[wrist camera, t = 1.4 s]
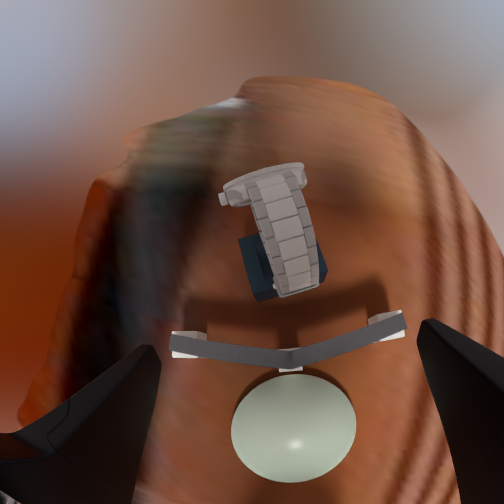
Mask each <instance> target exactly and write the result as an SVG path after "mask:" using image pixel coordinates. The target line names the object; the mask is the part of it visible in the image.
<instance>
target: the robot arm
mask: <svg viewBox="0 0 504 504" xmlns="http://www.w3.org/2000/svg"><path fill="white" fill-rule="evenodd" d="M417 347H418V350H419V353H420V357H421V360H422V364H423V367H424V371H425V375H426V378H427V382H428V384H429V387H430V390H431V393H432V395H433V398H434V401H435V404H436V407H437V410H438V412H439V415H440V419H441V422H442V425H443V428H444V431H445V435H446V438H447V442H448V445H449V449H450V453H451V456H452V460H453V465H454V469H455V473H456V477H457V478H456V479H457V483H458V489H459V494H460V500H461V504H504V358H503V357H502V356H500V355H498V354H496V353H495V352H493V351H491V350H490V349H488V348H486V347H484V346H483V345H481V344H479V343H477V342H476V341H474V340H472V339H470V338H469V337H467V336H465V335H463V334H461V333H460V332H458V331H456V330H454V329H452V328H451V327H449V326H447V325H445V324H443V323H442V322H440V321H438V320H436V319H434V318H430V319H425V320H423V321H422V322H421V326H420V329H419V333H418V336H417ZM160 374H161V361H160V359H159V357H158V355H157V352H156V350H155V348H154V347H153V346H152V345H140V346H139V347H138V348H136V349H135V350H134V351H132V352H131V353H130V354H128V355H127V356H126V357H124V358H123V359H122V360H120V361H119V362H118V363H116V364H115V365H114V366H112V367H111V368H110V369H108V370H107V371H106V372H104V373H103V374H101V375H100V376H99V377H97V378H96V379H95V380H93V381H92V382H91V383H89V384H88V385H87V386H85V387H84V388H83V389H81V390H80V391H79V392H77V393H76V394H74V395H73V396H72V397H71V398H70V399H68V400H66V401H65V402H64V403H62V404H61V405H59V406H58V407H57V408H55V409H54V410H52V411H51V412H49V413H48V414H46V415H44V416H43V417H41V418H39V419H38V420H36V421H34V422H33V423H31V424H29V425H28V426H26V427H24V428H22V429H21V430H19V431H16V432H13V433H0V504H132V502H131V501H132V498H133V493H134V488H135V484H136V479H137V475H138V471H139V466H140V462H141V458H142V454H143V450H144V446H145V442H146V438H147V434H148V430H149V426H150V423H151V419H152V415H153V412H154V408H155V403H156V398H157V392H158V385H159V379H160Z"/></svg>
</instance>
